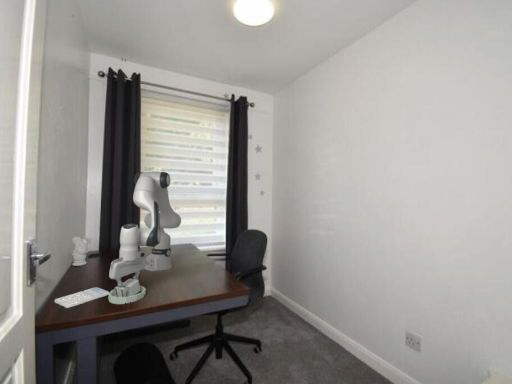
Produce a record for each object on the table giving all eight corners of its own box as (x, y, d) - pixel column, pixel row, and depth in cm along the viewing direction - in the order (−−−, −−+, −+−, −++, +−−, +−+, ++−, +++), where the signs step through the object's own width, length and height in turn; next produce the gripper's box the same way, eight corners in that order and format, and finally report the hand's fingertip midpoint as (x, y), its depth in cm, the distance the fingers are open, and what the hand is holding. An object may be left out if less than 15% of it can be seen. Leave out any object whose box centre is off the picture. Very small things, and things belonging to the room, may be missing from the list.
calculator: (53, 302, 123) (53, 298, 123) (96, 289, 140) (96, 286, 140) (67, 309, 116) (67, 305, 116) (110, 294, 134) (110, 291, 134)
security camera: (125, 301, 125) (140, 290, 134) (123, 289, 124) (138, 278, 133) (116, 299, 127) (131, 288, 136) (113, 287, 126) (129, 276, 135)
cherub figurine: (68, 264, 183) (69, 234, 184) (85, 260, 195) (86, 232, 195) (79, 267, 179) (80, 236, 179) (96, 262, 190) (97, 233, 190)
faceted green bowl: (100, 300, 125) (101, 294, 125) (128, 289, 140) (128, 283, 140) (126, 306, 119) (126, 300, 119) (151, 294, 135) (152, 288, 135)
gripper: (116, 261, 119) (115, 290, 119) (148, 252, 138) (147, 277, 138) (106, 259, 121) (105, 288, 121) (139, 251, 141) (138, 275, 140)
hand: (128, 282), depth 130 cm, fingers open, 8 cm apart
